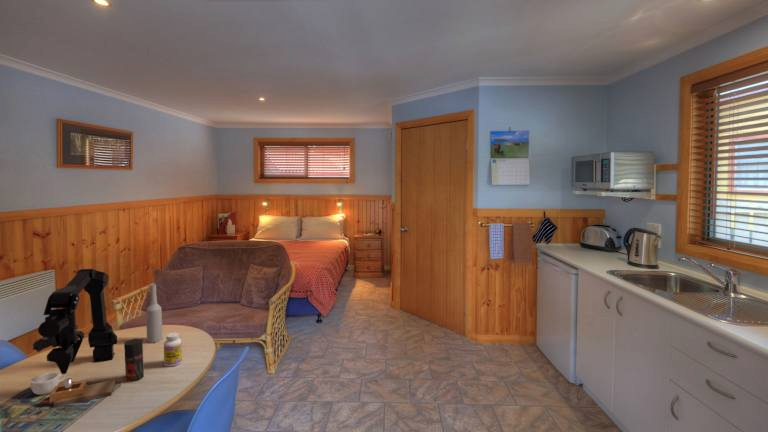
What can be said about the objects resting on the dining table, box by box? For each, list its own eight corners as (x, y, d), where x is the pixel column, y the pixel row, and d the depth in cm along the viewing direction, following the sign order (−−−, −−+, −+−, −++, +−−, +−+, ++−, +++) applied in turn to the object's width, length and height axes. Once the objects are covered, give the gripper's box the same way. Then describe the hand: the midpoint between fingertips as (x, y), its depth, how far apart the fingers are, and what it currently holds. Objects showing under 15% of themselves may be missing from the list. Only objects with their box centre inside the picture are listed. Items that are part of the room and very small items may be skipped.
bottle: (150, 344, 175) (148, 287, 172) (144, 340, 178) (142, 285, 176) (165, 339, 180) (163, 284, 178) (158, 336, 184) (156, 282, 181)
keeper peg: (73, 392, 132) (72, 377, 131) (71, 394, 130) (70, 380, 130) (66, 393, 131) (65, 378, 131) (64, 396, 129) (63, 381, 129)
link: (86, 386, 135) (86, 380, 135) (82, 395, 130) (82, 388, 130) (55, 392, 131) (54, 386, 131) (49, 401, 126) (49, 394, 126)
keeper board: (115, 383, 141) (115, 379, 141) (111, 395, 133) (111, 391, 133) (62, 393, 133) (61, 389, 133) (53, 407, 125) (53, 403, 125)
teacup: (37, 399, 130) (36, 385, 129) (26, 394, 133) (25, 379, 132) (71, 385, 139) (70, 372, 138) (60, 380, 142) (59, 367, 141)
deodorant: (147, 375, 147) (146, 339, 145) (132, 383, 141) (131, 346, 140) (136, 373, 149) (135, 337, 147) (122, 380, 143) (120, 343, 142)
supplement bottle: (163, 368, 153) (162, 338, 152) (165, 361, 159) (164, 332, 158) (181, 365, 155) (180, 336, 154) (182, 358, 161) (182, 330, 160)
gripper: (44, 320, 134) (47, 361, 135) (24, 340, 117) (27, 386, 119) (83, 315, 139) (85, 355, 140) (68, 334, 123) (71, 378, 124)
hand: (68, 367), depth 131 cm, fingers open, 9 cm apart
